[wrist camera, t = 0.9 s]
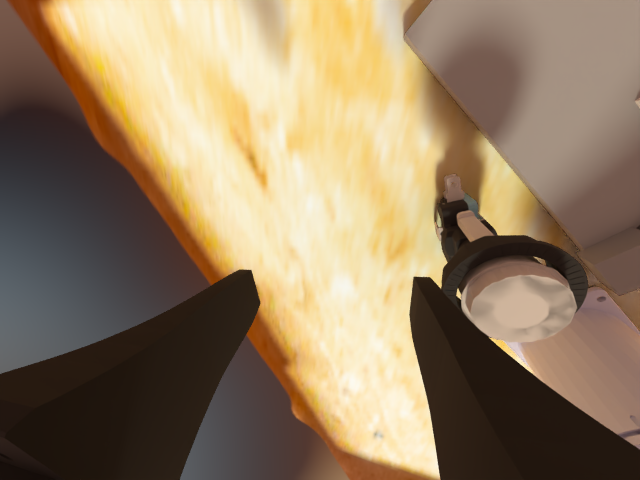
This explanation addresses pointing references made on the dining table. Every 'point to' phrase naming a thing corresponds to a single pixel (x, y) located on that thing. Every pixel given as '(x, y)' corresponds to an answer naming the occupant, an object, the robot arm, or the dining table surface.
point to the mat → (549, 98)
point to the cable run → (616, 261)
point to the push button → (505, 274)
